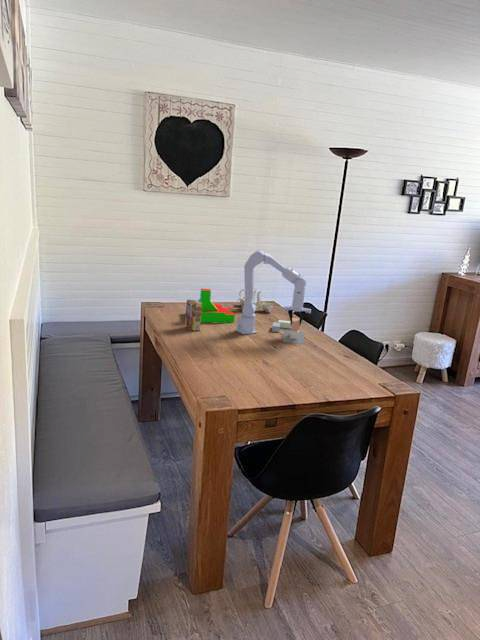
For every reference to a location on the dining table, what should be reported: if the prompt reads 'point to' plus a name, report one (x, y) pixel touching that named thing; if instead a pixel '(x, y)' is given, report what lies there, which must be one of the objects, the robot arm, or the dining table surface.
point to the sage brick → (284, 324)
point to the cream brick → (294, 334)
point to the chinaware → (265, 306)
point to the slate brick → (275, 327)
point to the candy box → (193, 314)
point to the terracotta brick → (295, 323)
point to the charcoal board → (287, 339)
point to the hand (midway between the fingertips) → (295, 324)
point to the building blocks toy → (214, 309)
